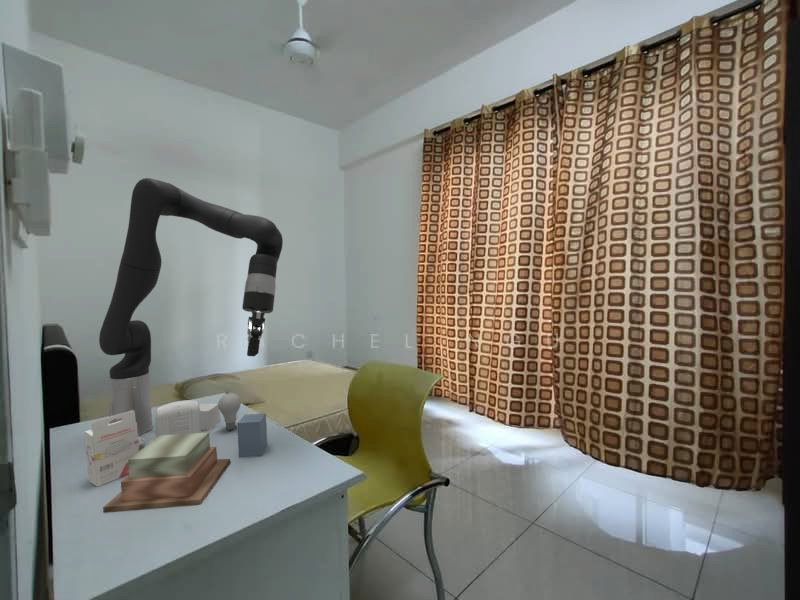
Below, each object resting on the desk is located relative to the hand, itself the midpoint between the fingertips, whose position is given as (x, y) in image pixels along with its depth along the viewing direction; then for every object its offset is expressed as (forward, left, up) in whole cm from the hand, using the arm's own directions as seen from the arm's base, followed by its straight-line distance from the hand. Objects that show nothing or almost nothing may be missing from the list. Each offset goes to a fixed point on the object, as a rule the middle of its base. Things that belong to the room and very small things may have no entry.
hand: (252, 355), depth 89 cm
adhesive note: (-21, +20, -26) cm, 39 cm away
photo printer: (-22, +7, -26) cm, 35 cm away
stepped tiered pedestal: (-14, -12, -26) cm, 32 cm away
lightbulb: (-12, +16, -26) cm, 33 cm away
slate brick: (-1, +1, -26) cm, 26 cm away
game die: (-33, +7, -26) cm, 43 cm away
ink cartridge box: (-30, -6, -26) cm, 40 cm away
